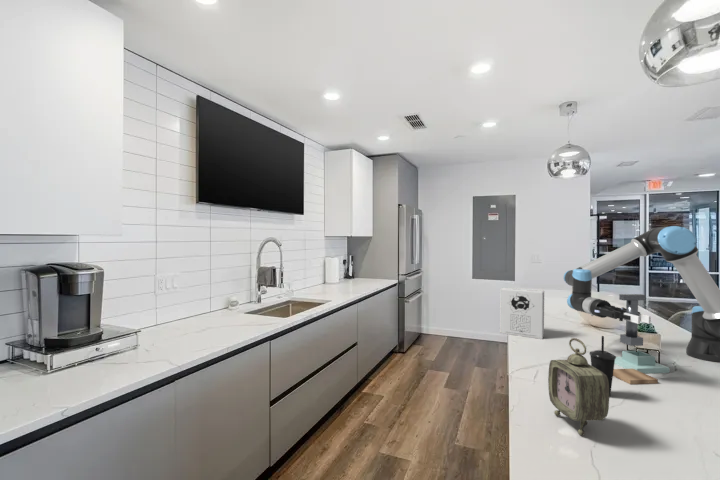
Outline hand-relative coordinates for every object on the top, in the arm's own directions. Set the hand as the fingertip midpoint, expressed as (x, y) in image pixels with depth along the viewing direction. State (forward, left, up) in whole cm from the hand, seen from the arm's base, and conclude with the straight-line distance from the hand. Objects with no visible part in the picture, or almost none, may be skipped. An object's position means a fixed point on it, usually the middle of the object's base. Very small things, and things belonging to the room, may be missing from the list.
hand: (644, 320), depth 133 cm
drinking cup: (+22, +7, -24) cm, 33 cm away
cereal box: (+9, -68, -24) cm, 72 cm away
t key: (0, -6, -10) cm, 12 cm away
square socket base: (-13, -16, -24) cm, 32 cm away
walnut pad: (0, -5, -24) cm, 24 cm away
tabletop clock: (+45, +26, -24) cm, 57 cm away
